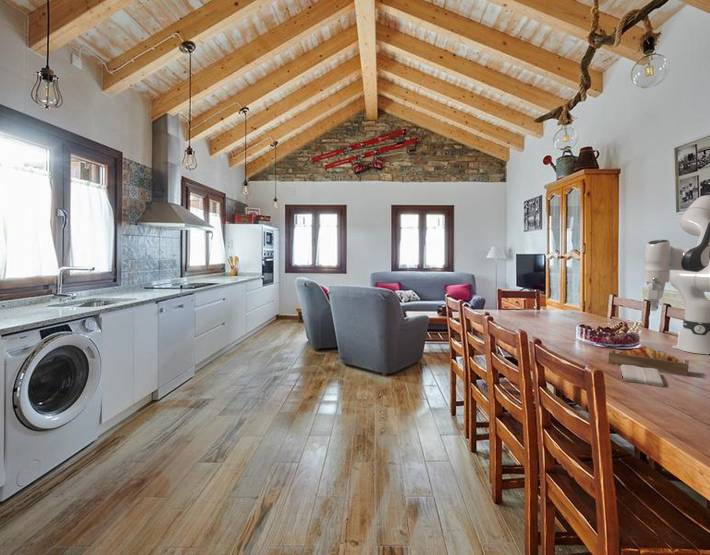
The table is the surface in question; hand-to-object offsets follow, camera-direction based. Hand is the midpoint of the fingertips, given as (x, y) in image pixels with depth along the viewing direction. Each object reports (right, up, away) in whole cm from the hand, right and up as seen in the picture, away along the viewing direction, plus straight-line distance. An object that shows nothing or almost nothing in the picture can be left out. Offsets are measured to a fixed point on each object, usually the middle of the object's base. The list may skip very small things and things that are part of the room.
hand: (654, 309), depth 164 cm
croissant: (-6, -22, -5) cm, 23 cm away
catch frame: (-12, -22, -12) cm, 28 cm away
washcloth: (-25, -23, -25) cm, 42 cm away
